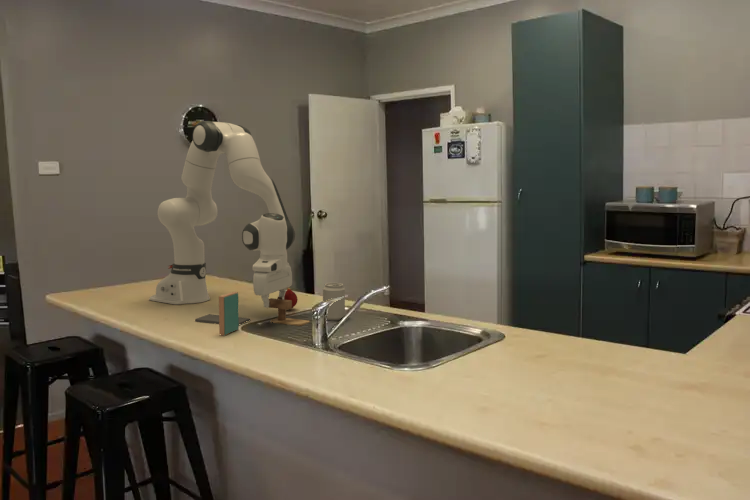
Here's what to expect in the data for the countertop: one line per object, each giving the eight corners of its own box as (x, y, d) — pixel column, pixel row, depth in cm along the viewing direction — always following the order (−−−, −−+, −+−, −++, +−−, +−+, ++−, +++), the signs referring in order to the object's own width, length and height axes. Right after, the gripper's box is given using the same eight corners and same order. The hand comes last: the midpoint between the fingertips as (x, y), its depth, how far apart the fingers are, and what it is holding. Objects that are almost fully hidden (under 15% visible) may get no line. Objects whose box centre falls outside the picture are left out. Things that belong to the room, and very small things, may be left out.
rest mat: (195, 321, 212) (195, 319, 212) (209, 316, 220) (209, 314, 219) (237, 326, 207) (237, 323, 207) (250, 320, 214) (250, 318, 214)
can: (349, 318, 219) (349, 283, 218) (333, 322, 214) (333, 286, 212) (334, 315, 224) (334, 281, 223) (318, 318, 219) (318, 283, 218)
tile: (219, 335, 195) (218, 296, 194) (233, 329, 203) (233, 291, 201) (224, 336, 195) (224, 296, 193) (239, 330, 202) (238, 292, 200)
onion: (298, 308, 234) (298, 286, 233) (295, 311, 228) (295, 289, 227) (283, 307, 235) (283, 286, 234) (279, 311, 229) (279, 289, 228)
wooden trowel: (264, 321, 214) (264, 300, 213) (273, 318, 219) (273, 297, 218) (301, 326, 208) (301, 304, 207) (310, 322, 214) (310, 301, 213)
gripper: (280, 258, 223) (280, 297, 225) (249, 266, 204) (250, 309, 206) (296, 259, 221) (296, 299, 223) (267, 267, 202) (267, 311, 204)
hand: (274, 304), depth 214 cm, fingers open, 8 cm apart
